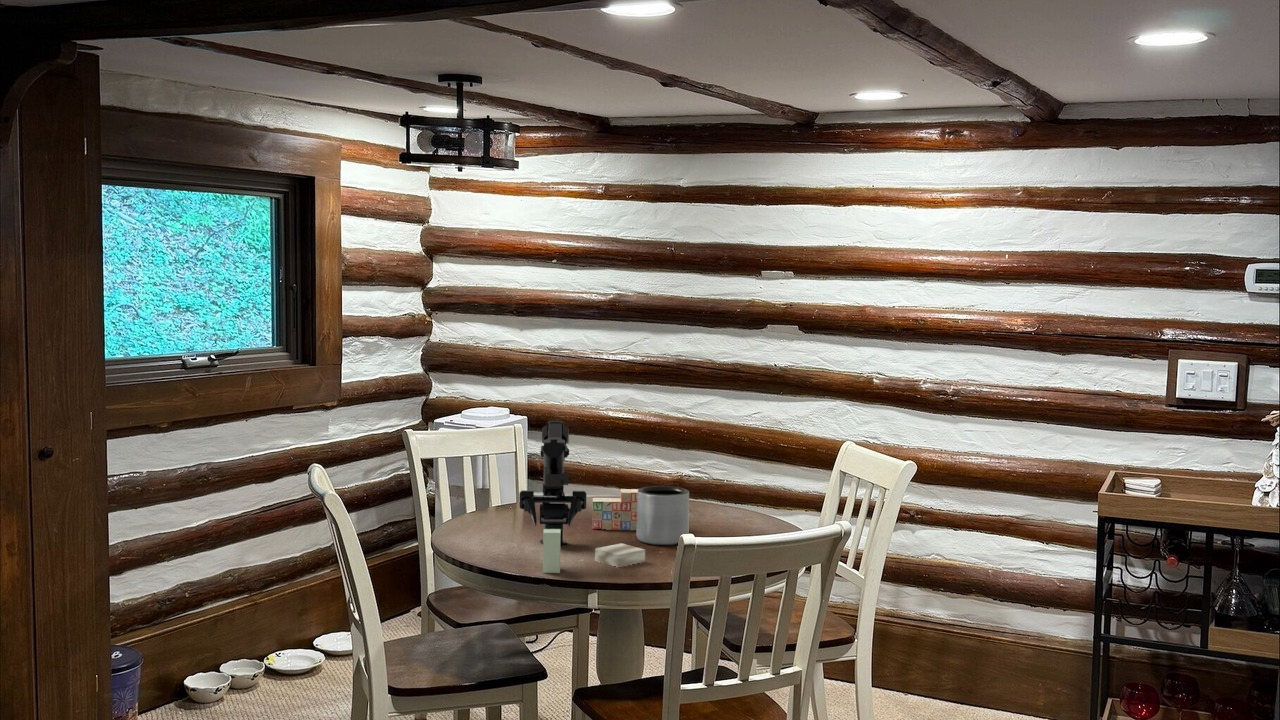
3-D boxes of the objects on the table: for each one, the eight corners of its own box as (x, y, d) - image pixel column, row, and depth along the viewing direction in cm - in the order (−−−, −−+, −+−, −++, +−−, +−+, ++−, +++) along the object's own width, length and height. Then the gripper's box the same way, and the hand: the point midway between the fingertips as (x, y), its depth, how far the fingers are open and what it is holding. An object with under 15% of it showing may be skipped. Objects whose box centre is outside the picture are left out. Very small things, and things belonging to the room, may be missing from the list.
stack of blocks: (592, 530, 355) (592, 491, 354) (592, 525, 361) (592, 488, 361) (659, 530, 356) (659, 492, 355) (658, 526, 362) (658, 489, 361)
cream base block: (594, 562, 315) (595, 548, 315) (621, 556, 322) (621, 543, 322) (618, 569, 308) (618, 555, 308) (644, 563, 315) (645, 549, 314)
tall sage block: (543, 568, 306) (543, 528, 305) (560, 568, 306) (560, 529, 306) (542, 572, 301) (543, 532, 301) (559, 572, 302) (560, 532, 301)
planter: (682, 534, 351) (683, 485, 350) (693, 545, 336) (694, 494, 335) (632, 535, 349) (633, 485, 348) (641, 547, 333) (642, 495, 332)
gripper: (519, 462, 312) (517, 508, 301) (586, 462, 313) (586, 509, 302) (520, 485, 320) (518, 531, 310) (586, 485, 321) (586, 531, 311)
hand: (552, 525), depth 308 cm, fingers open, 9 cm apart
